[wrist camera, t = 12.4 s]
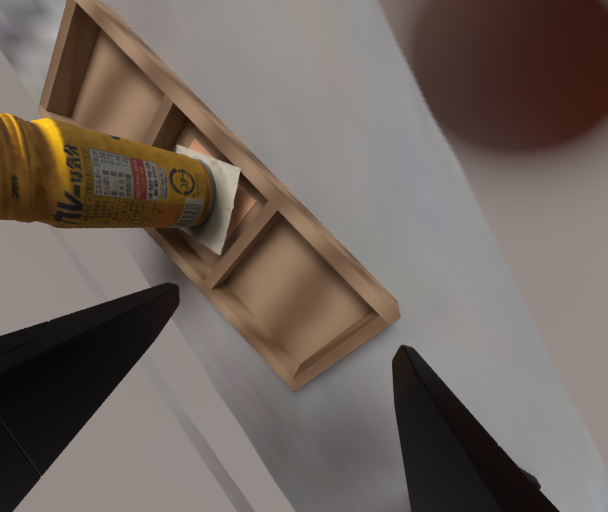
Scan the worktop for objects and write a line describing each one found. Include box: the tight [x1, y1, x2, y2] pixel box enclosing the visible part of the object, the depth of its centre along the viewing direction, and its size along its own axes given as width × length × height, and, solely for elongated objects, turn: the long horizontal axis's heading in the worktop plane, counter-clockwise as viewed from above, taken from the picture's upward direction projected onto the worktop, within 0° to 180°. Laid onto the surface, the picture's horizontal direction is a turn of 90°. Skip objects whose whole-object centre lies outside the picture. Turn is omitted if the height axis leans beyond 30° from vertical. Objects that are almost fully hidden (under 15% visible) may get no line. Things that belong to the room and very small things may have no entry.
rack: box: [37, 0, 401, 392], centre depth 21 cm, size 37×12×3 cm, turn 47°
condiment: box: [0, 113, 241, 255], centre depth 15 cm, size 7×8×12 cm
